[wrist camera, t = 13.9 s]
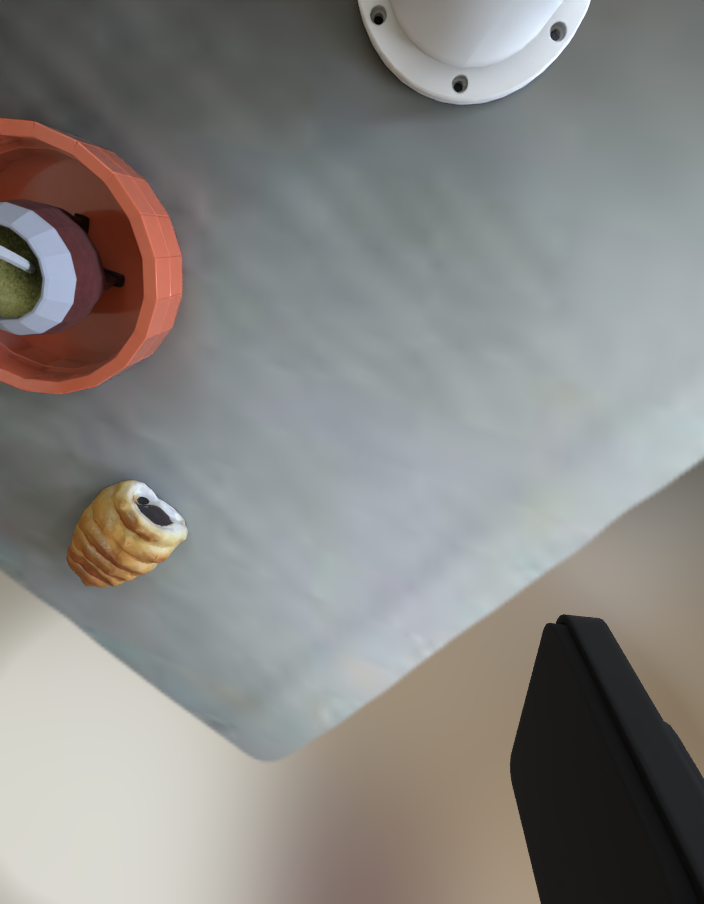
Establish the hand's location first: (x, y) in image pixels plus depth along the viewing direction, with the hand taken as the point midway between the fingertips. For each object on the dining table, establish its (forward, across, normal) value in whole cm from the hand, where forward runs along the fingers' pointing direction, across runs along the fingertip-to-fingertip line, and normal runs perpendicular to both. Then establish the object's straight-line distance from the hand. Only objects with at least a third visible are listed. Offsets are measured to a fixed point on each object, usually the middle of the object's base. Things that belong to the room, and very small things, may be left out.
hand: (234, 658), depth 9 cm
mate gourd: (+30, +17, -3) cm, 35 cm away
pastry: (+31, +15, +16) cm, 38 cm away
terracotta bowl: (+30, +18, -3) cm, 35 cm away
